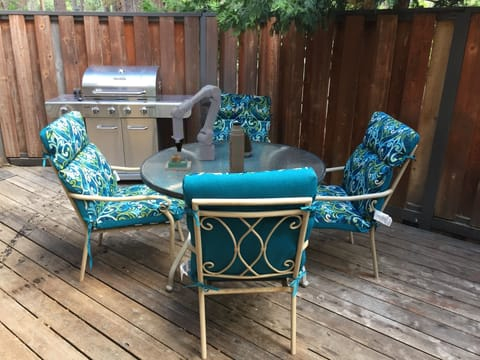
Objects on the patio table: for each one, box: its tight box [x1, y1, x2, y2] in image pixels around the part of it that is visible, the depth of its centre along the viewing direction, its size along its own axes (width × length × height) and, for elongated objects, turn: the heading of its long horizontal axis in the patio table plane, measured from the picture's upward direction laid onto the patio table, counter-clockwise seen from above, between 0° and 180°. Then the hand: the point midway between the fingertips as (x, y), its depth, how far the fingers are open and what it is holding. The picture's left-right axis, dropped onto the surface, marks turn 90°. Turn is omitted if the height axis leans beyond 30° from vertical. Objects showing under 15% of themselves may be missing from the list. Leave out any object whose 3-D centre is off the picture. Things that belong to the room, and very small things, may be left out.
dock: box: [164, 158, 192, 171], centre depth 235 cm, size 14×12×4 cm
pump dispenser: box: [243, 131, 253, 158], centre depth 254 cm, size 10×10×15 cm
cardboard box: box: [171, 154, 182, 163], centre depth 232 cm, size 4×6×5 cm
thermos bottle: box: [229, 121, 245, 174], centre depth 221 cm, size 8×8×28 cm
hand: (179, 151), depth 240 cm, fingers closed
